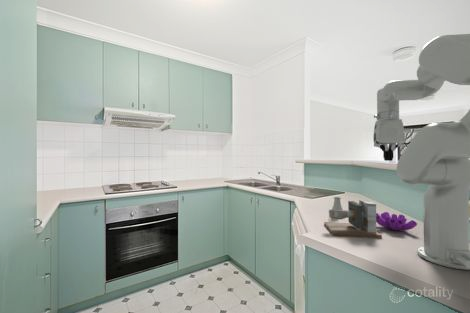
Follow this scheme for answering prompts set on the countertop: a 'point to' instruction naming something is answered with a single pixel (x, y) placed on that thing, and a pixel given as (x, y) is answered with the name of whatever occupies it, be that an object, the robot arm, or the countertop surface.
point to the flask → (337, 205)
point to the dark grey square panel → (355, 214)
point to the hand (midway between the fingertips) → (388, 160)
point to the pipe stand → (348, 228)
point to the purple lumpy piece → (394, 221)
